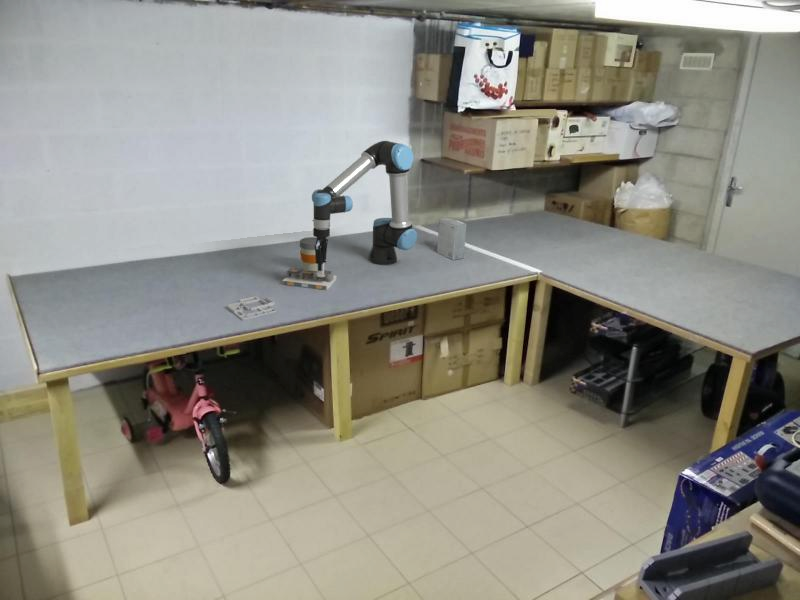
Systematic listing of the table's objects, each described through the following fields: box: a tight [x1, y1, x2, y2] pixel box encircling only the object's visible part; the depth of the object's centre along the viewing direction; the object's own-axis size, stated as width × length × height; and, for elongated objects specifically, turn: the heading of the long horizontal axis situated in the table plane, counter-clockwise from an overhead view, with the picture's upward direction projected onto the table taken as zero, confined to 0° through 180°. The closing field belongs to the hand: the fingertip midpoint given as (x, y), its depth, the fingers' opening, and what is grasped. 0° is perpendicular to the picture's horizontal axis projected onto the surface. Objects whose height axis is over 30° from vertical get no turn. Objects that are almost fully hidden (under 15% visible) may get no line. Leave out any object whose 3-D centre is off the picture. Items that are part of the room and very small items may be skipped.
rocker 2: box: [317, 269, 332, 280], centre depth 298 cm, size 5×10×1 cm, turn 169°
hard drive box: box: [436, 217, 468, 261], centre depth 347 cm, size 16×8×20 cm, turn 34°
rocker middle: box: [302, 270, 317, 276], centre depth 299 cm, size 5×10×1 cm, turn 168°
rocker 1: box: [288, 268, 304, 274], centre depth 300 cm, size 5×10×1 cm, turn 169°
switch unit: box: [282, 267, 337, 291], centre depth 300 cm, size 22×16×5 cm
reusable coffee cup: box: [299, 236, 317, 271], centre depth 315 cm, size 12×13×15 cm
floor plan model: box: [226, 295, 277, 321], centre depth 270 cm, size 19×25×2 cm
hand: (320, 276), depth 293 cm, fingers closed, pressing on rocker 2
